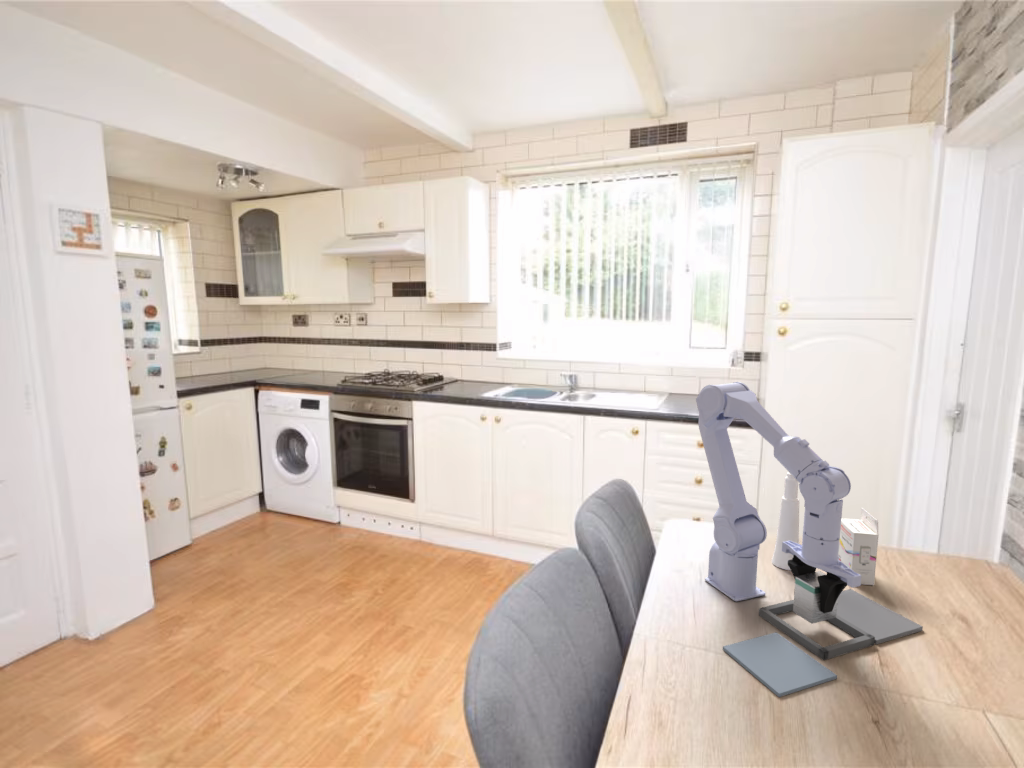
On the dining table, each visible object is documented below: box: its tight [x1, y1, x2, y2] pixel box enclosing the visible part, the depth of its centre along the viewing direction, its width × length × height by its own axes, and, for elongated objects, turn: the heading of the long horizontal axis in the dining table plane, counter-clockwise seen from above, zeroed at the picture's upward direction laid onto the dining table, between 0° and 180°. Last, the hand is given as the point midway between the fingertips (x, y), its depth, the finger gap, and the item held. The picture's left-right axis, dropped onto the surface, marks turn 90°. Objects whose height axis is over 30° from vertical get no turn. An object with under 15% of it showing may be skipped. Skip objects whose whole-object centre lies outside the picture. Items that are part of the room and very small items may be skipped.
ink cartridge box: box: [838, 507, 879, 586], centre depth 114 cm, size 9×5×15 cm, turn 168°
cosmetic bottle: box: [771, 471, 800, 571], centre depth 119 cm, size 6×6×22 cm
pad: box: [722, 632, 838, 698], centre depth 86 cm, size 12×12×1 cm
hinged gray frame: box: [758, 588, 924, 661], centre depth 97 cm, size 14×24×2 cm, turn 109°
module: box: [792, 570, 838, 625], centre depth 94 cm, size 4×6×7 cm, turn 109°
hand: (815, 604), depth 95 cm, fingers closed on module, 4 cm apart
